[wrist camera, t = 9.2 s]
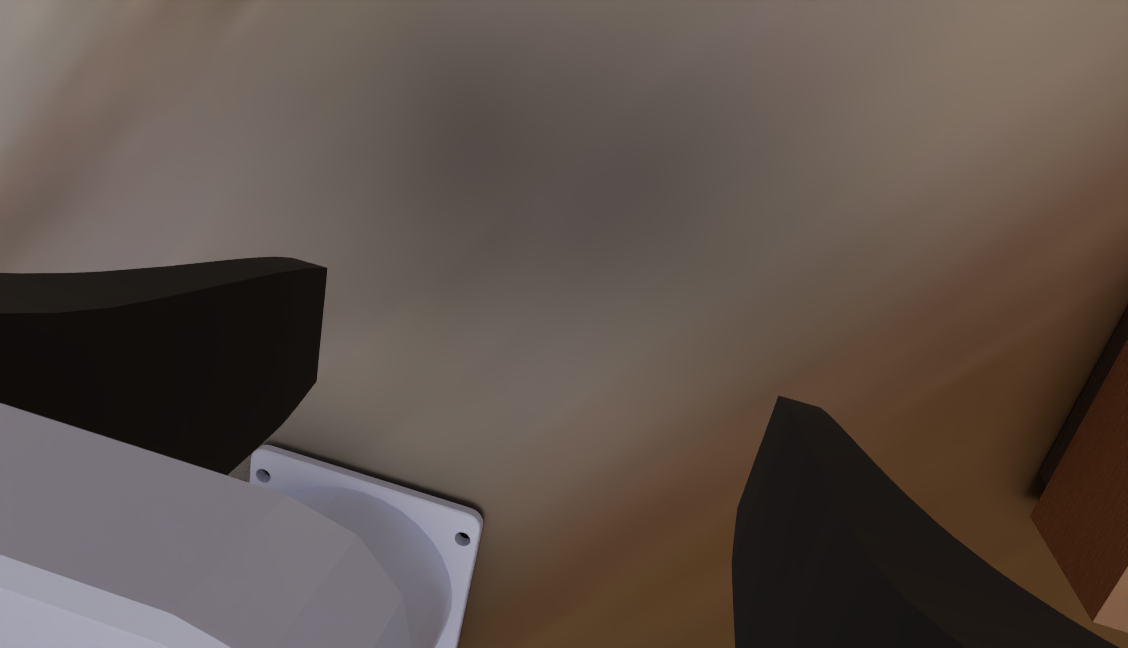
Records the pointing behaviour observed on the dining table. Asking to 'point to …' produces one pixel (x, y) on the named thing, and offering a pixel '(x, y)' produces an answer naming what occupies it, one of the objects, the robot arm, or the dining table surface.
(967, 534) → the dining table surface
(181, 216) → the dining table surface
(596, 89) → the dining table surface
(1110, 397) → the copper rectangular sleeve
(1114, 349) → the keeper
